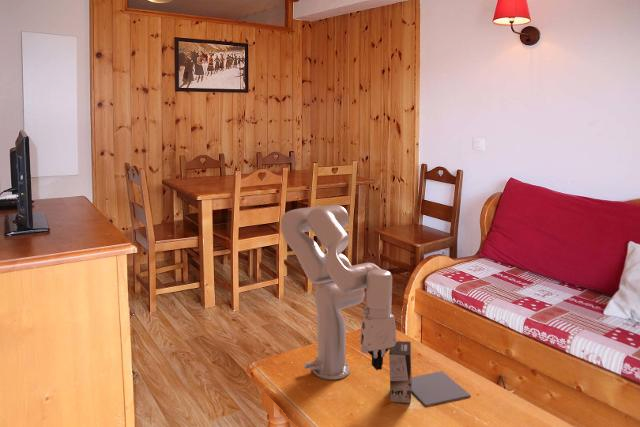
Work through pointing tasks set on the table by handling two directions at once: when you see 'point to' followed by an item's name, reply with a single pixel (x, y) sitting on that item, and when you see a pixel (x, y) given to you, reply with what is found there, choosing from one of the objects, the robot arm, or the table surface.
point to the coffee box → (400, 372)
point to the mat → (436, 389)
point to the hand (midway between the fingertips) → (377, 367)
